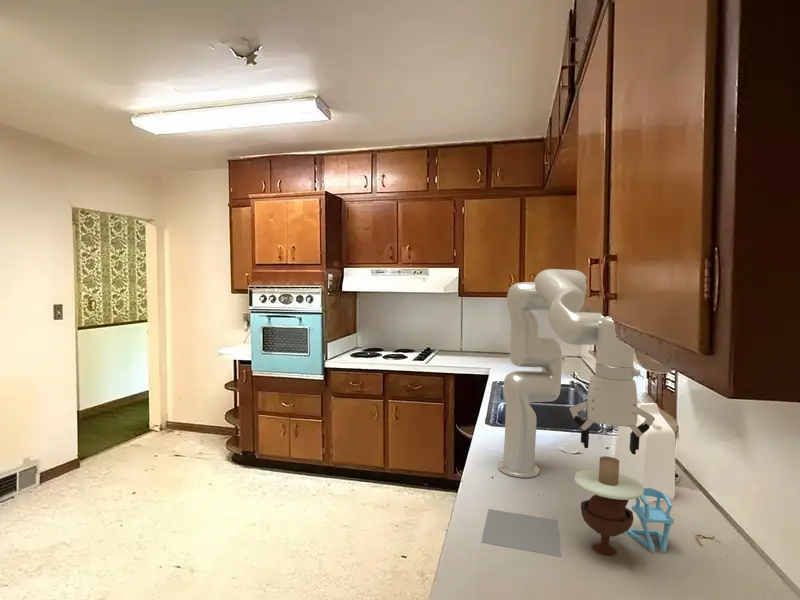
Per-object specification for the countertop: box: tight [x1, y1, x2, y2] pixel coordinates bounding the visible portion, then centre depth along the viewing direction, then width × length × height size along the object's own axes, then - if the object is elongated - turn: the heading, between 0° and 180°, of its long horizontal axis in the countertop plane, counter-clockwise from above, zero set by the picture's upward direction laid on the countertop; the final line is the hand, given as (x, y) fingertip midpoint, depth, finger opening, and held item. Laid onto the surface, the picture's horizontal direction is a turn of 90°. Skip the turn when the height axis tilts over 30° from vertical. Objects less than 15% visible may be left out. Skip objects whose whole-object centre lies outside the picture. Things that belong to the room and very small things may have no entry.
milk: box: [613, 402, 676, 505], centre depth 139 cm, size 12×12×26 cm
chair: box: [626, 488, 675, 554], centre depth 112 cm, size 8×8×12 cm
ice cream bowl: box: [580, 494, 635, 557], centre depth 107 cm, size 11×11×15 cm
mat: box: [480, 508, 562, 558], centre depth 114 cm, size 17×17×1 cm
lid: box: [574, 455, 644, 501], centre depth 107 cm, size 14×14×6 cm
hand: (608, 449), depth 107 cm, fingers open, 9 cm apart
